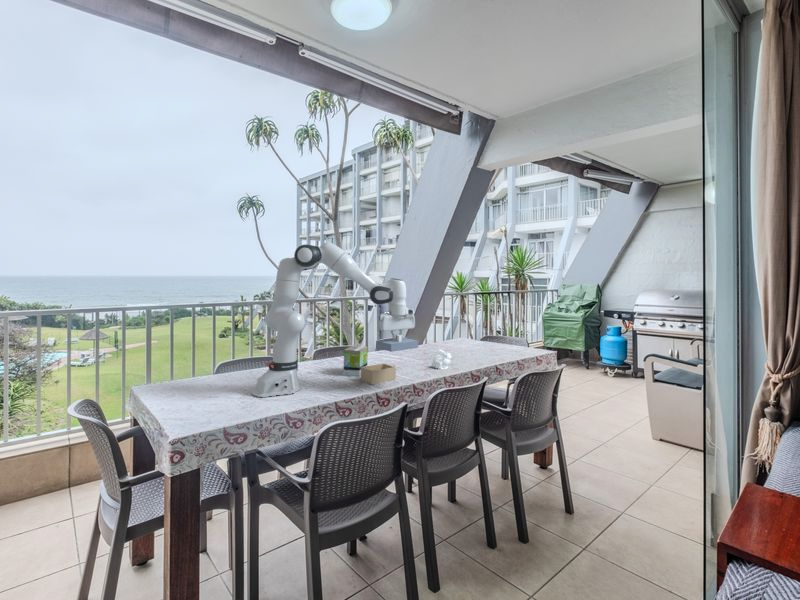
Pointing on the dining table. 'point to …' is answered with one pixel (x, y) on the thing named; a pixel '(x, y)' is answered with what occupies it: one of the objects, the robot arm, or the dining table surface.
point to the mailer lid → (397, 344)
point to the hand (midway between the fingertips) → (397, 338)
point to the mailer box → (378, 373)
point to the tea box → (355, 360)
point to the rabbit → (441, 360)
